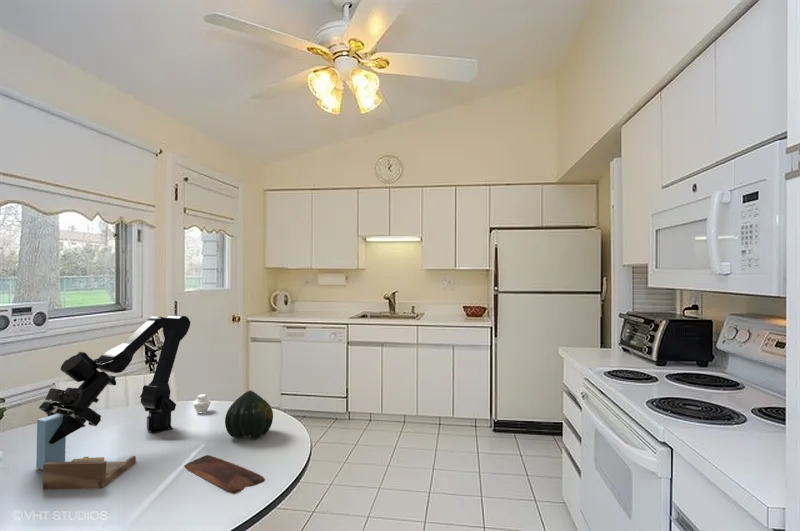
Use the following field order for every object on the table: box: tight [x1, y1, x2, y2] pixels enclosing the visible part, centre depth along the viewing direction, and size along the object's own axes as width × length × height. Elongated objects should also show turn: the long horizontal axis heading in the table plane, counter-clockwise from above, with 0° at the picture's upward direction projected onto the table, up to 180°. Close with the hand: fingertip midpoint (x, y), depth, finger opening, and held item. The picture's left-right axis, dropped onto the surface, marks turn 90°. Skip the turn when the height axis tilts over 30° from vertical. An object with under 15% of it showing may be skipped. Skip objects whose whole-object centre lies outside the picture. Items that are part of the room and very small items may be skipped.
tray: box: [42, 455, 137, 491], centre depth 112 cm, size 15×14×7 cm
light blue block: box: [35, 414, 67, 471], centre depth 116 cm, size 5×4×13 cm
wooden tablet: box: [183, 454, 265, 494], centre depth 116 cm, size 26×2×10 cm
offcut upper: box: [70, 456, 105, 462], centre depth 108 cm, size 4×7×2 cm, turn 102°
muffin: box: [192, 393, 211, 413], centre depth 165 cm, size 6×6×7 cm
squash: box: [224, 389, 274, 440], centre depth 143 cm, size 14×15×15 cm
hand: (45, 442), depth 115 cm, fingers closed on light blue block, 3 cm apart
